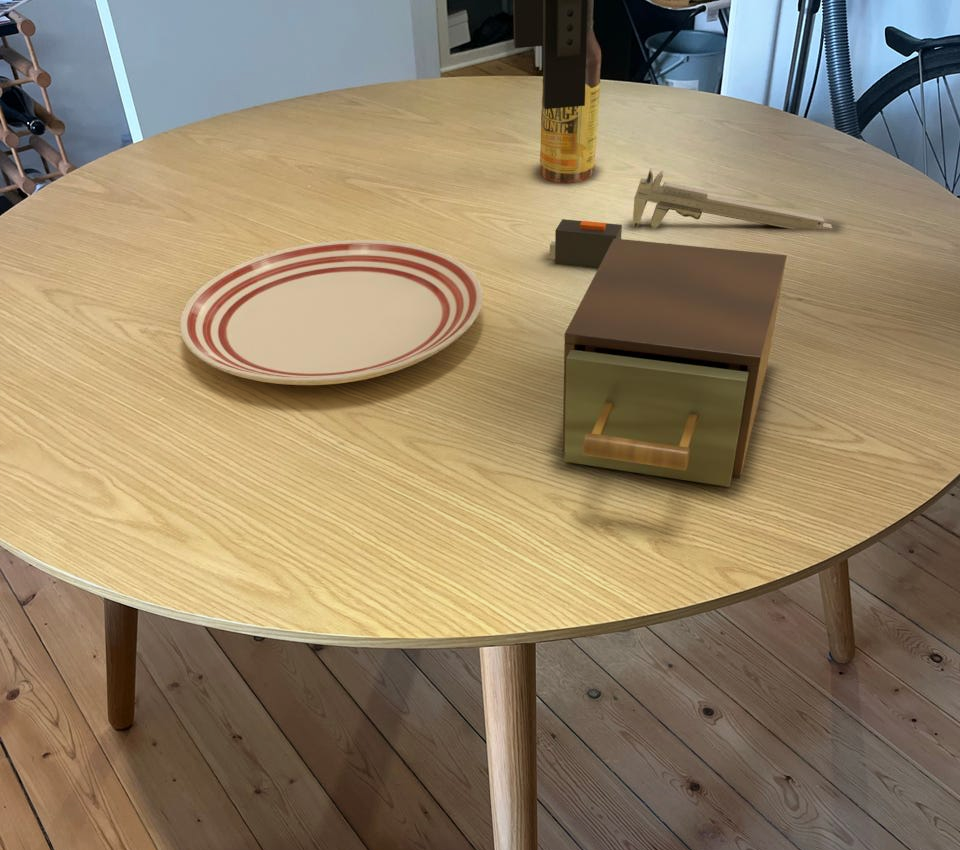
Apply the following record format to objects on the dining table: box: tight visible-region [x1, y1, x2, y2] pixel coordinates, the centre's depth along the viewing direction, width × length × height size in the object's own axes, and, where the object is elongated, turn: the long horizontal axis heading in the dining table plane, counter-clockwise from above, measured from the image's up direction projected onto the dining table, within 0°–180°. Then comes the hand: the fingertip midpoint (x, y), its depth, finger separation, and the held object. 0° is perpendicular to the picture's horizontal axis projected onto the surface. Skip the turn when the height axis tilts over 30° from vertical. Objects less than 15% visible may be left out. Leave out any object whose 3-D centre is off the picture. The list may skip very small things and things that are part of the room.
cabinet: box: [562, 238, 788, 479], centre depth 79 cm, size 16×14×11 cm
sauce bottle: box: [539, 0, 602, 184], centre depth 110 cm, size 6×6×20 cm
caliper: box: [632, 167, 833, 230], centre depth 104 cm, size 20×1×6 cm, turn 83°
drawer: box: [564, 346, 749, 488], centre depth 76 cm, size 20×12×9 cm, turn 162°
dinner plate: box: [179, 239, 484, 386], centre depth 93 cm, size 27×27×3 cm
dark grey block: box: [549, 218, 623, 270], centre depth 100 cm, size 7×3×4 cm, turn 72°
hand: (547, 74), depth 73 cm, fingers open, 13 cm apart
